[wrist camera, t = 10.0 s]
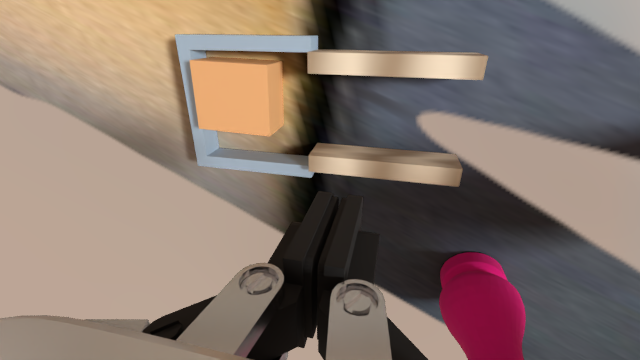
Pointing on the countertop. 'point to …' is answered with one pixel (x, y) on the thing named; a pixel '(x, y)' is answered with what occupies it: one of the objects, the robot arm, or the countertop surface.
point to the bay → (208, 139)
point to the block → (238, 94)
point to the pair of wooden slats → (381, 159)
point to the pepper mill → (482, 307)
